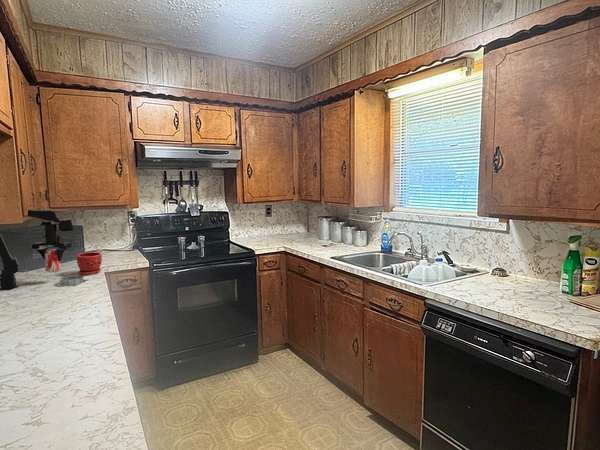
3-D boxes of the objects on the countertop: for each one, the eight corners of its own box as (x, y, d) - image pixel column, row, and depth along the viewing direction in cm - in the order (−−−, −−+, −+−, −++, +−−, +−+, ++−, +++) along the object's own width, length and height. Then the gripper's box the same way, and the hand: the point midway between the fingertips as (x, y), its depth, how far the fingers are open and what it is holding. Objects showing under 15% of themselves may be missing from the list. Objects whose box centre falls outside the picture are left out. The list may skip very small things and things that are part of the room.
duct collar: (76, 286, 195) (75, 280, 195) (55, 286, 195) (54, 280, 195) (87, 280, 206) (87, 275, 206) (68, 280, 206) (67, 275, 206)
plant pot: (72, 275, 216) (71, 255, 215) (87, 270, 229) (85, 251, 228) (94, 276, 215) (92, 256, 214) (107, 270, 228) (106, 252, 227)
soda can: (42, 271, 201) (41, 249, 199) (56, 268, 207) (55, 248, 205) (49, 273, 197) (49, 251, 196) (63, 271, 204) (62, 249, 202)
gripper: (76, 230, 207) (78, 257, 209) (43, 230, 207) (46, 257, 209) (64, 233, 196) (66, 262, 198) (29, 233, 196) (32, 262, 198)
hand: (53, 261), depth 201 cm, fingers closed on soda can, 7 cm apart
